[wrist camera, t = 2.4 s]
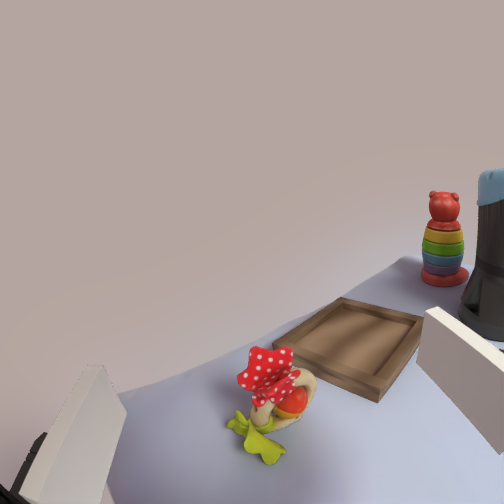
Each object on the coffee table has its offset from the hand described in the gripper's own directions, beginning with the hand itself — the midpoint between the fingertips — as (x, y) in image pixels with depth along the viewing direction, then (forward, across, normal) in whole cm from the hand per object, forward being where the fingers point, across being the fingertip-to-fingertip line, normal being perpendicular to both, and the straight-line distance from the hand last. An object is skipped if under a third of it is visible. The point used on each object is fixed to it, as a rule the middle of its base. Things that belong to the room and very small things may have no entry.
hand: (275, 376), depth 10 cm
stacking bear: (+34, +40, -16) cm, 55 cm away
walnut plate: (+21, +13, -16) cm, 30 cm away
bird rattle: (+10, 0, -16) cm, 19 cm away
